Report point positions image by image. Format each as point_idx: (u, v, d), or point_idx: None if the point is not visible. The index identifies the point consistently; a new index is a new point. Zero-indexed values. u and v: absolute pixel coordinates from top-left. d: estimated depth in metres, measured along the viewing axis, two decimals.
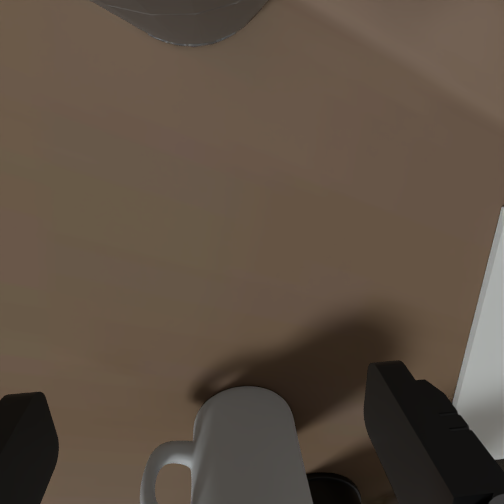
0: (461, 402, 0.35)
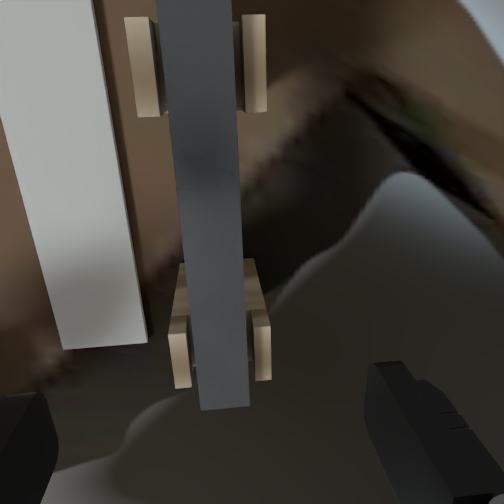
0: (44, 262, 0.30)
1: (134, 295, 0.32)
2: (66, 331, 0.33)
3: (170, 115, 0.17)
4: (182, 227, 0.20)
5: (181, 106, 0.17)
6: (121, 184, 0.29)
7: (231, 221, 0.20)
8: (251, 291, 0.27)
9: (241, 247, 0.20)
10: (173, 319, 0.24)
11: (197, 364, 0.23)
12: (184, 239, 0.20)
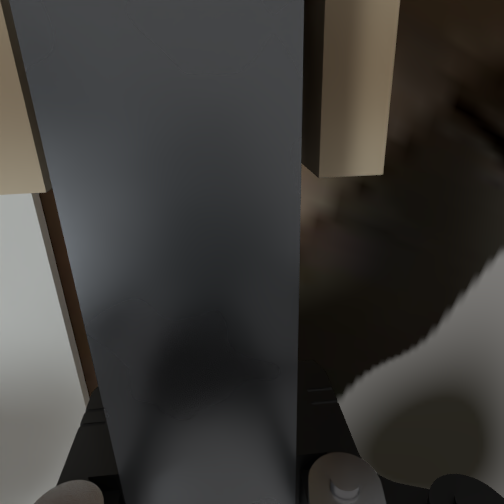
0: None
1: None
2: None
3: (63, 203, 0.05)
4: (129, 496, 0.07)
5: (101, 173, 0.05)
6: (51, 265, 0.16)
7: (268, 476, 0.07)
8: None
9: None
10: None
11: None
12: None
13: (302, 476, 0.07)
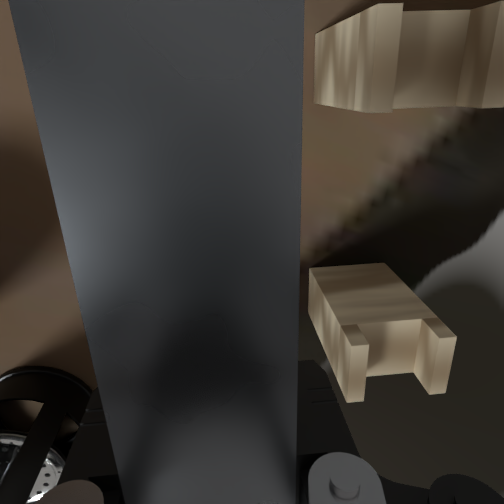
0: None
1: None
2: None
3: (63, 208, 0.05)
4: (129, 498, 0.07)
5: (101, 177, 0.05)
6: None
7: (269, 479, 0.07)
8: (407, 298, 0.26)
9: None
10: (345, 329, 0.23)
11: None
12: None
13: (302, 476, 0.07)
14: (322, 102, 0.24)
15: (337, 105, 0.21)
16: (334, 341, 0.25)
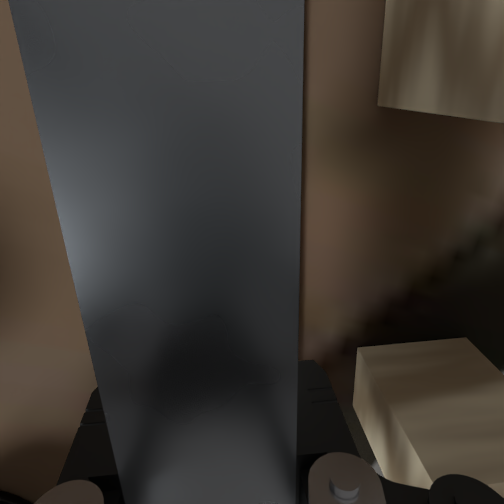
0: None
1: None
2: None
3: (64, 209, 0.05)
4: (129, 499, 0.07)
5: (102, 179, 0.05)
6: None
7: (269, 479, 0.07)
8: None
9: None
10: None
11: None
12: None
13: (302, 476, 0.07)
14: (401, 105, 0.14)
15: (450, 112, 0.11)
16: None
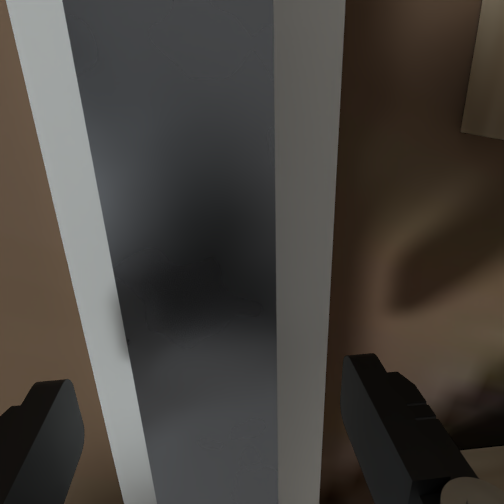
0: (129, 479, 0.13)
1: None
2: None
3: (99, 173, 0.07)
4: (144, 413, 0.09)
5: (127, 150, 0.06)
6: (327, 319, 0.12)
7: (255, 399, 0.09)
8: None
9: (275, 443, 0.09)
10: None
11: None
12: (149, 435, 0.09)
13: (424, 502, 0.07)
14: None
15: None
16: None
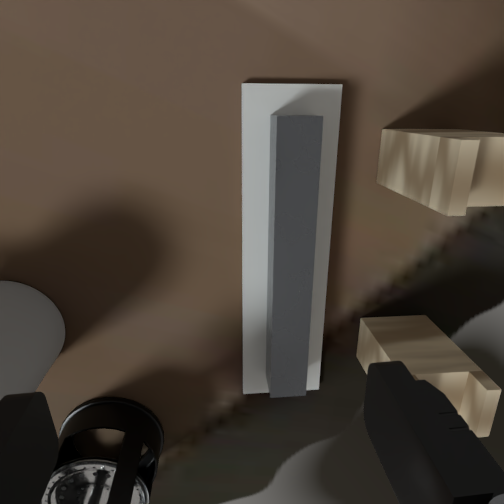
0: (247, 314, 0.33)
1: (317, 346, 0.35)
2: (250, 377, 0.35)
3: (276, 192, 0.27)
4: (274, 264, 0.29)
5: (283, 187, 0.27)
6: (329, 248, 0.32)
7: (307, 261, 0.29)
8: (453, 351, 0.30)
9: (312, 279, 0.29)
10: None
11: (272, 362, 0.31)
12: (274, 272, 0.29)
13: None
14: (388, 186, 0.29)
15: (407, 195, 0.26)
16: None
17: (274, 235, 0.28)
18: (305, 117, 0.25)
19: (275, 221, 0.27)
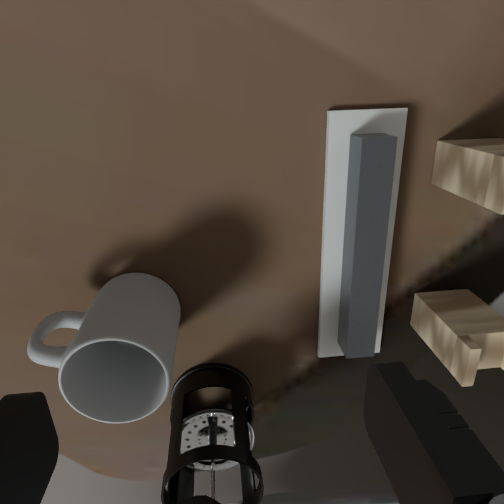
0: (324, 293, 0.41)
1: (380, 316, 0.43)
2: (324, 343, 0.44)
3: (358, 197, 0.34)
4: (354, 253, 0.36)
5: (364, 193, 0.34)
6: (391, 238, 0.39)
7: (380, 250, 0.36)
8: (495, 316, 0.38)
9: (383, 263, 0.37)
10: (461, 338, 0.35)
11: (348, 330, 0.39)
12: (354, 259, 0.36)
13: None
14: (443, 187, 0.36)
15: (463, 196, 0.33)
16: (448, 346, 0.37)
17: (355, 230, 0.35)
18: (383, 138, 0.32)
19: (356, 219, 0.35)
